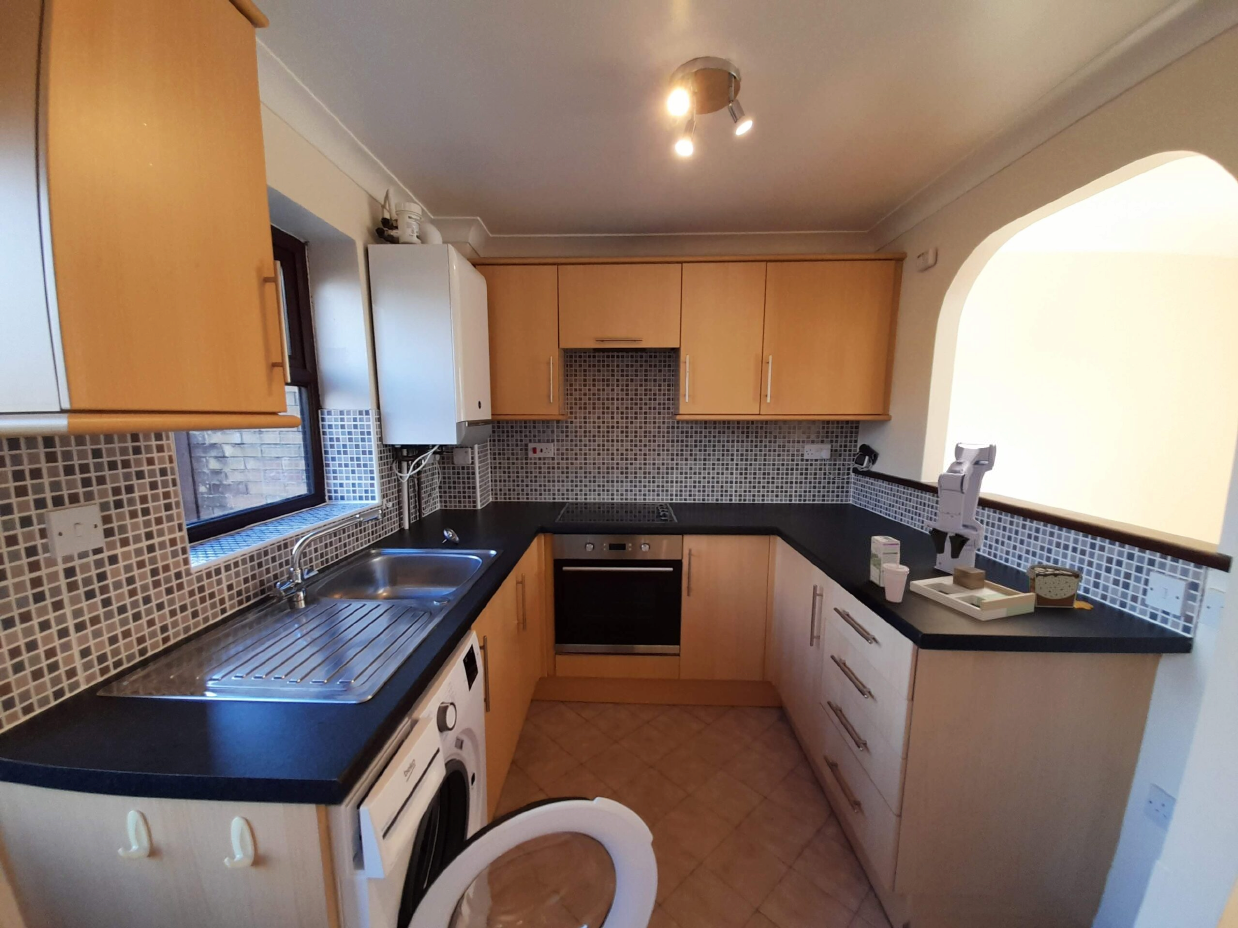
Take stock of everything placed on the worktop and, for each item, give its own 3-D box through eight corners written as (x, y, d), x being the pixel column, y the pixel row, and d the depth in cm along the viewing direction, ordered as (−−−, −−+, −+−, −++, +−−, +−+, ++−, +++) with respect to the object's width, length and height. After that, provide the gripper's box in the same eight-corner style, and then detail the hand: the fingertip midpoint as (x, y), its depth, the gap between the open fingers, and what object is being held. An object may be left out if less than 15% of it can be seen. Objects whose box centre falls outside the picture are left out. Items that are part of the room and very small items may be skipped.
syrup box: (898, 586, 126) (901, 541, 124) (879, 587, 126) (882, 541, 125) (887, 579, 132) (889, 535, 130) (868, 579, 132) (870, 535, 130)
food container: (1057, 597, 117) (1061, 563, 116) (1079, 607, 111) (1083, 572, 110) (1010, 596, 118) (1013, 563, 117) (1029, 606, 112) (1033, 571, 111)
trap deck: (909, 589, 124) (910, 573, 124) (955, 582, 128) (957, 567, 128) (982, 620, 105) (984, 602, 104) (1033, 611, 109) (1035, 593, 109)
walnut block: (952, 583, 122) (953, 567, 121) (965, 581, 123) (966, 565, 123) (970, 590, 117) (972, 573, 117) (983, 588, 118) (985, 571, 118)
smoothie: (911, 605, 114) (915, 556, 112) (886, 603, 115) (889, 555, 114) (900, 595, 120) (903, 548, 119) (876, 593, 121) (879, 548, 120)
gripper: (917, 508, 130) (914, 549, 132) (965, 518, 116) (962, 565, 118) (934, 506, 132) (931, 547, 133) (984, 517, 118) (980, 562, 119)
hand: (947, 555), depth 126 cm, fingers open, 4 cm apart
